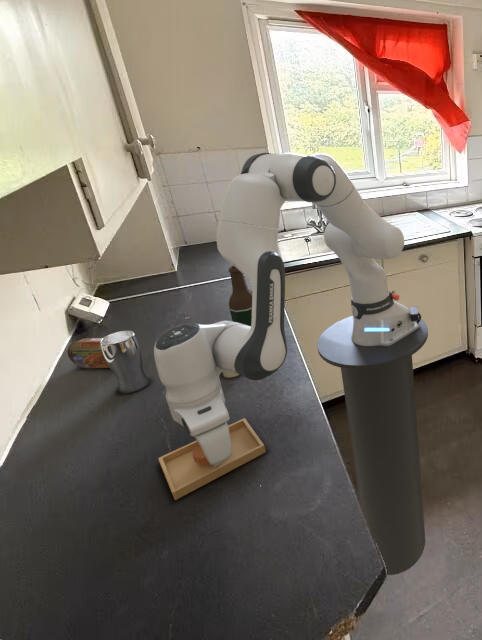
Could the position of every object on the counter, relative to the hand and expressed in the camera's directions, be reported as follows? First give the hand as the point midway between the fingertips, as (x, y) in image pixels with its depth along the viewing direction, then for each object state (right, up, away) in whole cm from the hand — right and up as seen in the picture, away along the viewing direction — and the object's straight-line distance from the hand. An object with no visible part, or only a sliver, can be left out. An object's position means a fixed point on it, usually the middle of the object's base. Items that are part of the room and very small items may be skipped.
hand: (212, 454), depth 90 cm
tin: (-53, +11, +31) cm, 62 cm away
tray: (0, -1, 0) cm, 1 cm away
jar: (-14, +10, +29) cm, 34 cm away
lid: (0, +2, -1) cm, 2 cm away
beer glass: (-37, +8, +22) cm, 44 cm away
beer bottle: (-21, +16, +47) cm, 54 cm away
